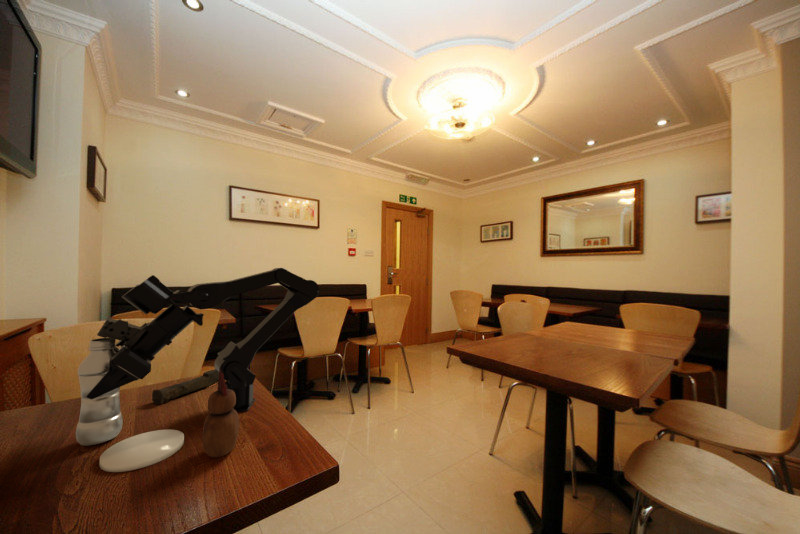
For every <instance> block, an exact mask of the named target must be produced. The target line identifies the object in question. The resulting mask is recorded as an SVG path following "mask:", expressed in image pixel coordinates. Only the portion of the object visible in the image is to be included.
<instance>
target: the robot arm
mask: <svg viewBox="0 0 800 534" xmlns="http://www.w3.org/2000/svg"><path fill="white" fill-rule="evenodd" d="M276 284H278V285H280V286H282V287H283V288H285V289H287V291H286V294H285V295H284V298H283V300H282V301H281V302H280V303H279V304H278V305H277V306H276V307H274V309H273V310H271V312H269V314H268V315H267V316H266V317H265V318H264V319H263V320H262V321H261V322H259V324H258V325H257V326H256V327H255V328H254V329H252V330H251V332H250V333H248V335H247V336H246V337H245V338H244V339H242V340H240V341H238V342H237V343H235V342H234V341H230V342H229V343H227V345H226V346H225V347H224V348H223V349H222V350H221V351H219V352H217V356H216V358H215V361H214V369H215V370H216V371H217V372H218V374H219V369H221V374H222V373H223V377H224V380H225V385H226V387H227V389H231V390H233V391H234V392H235V395H236V404H235V406H234V408H233V409H235V410H236V412H237V413H238V412H247V411H249V409H250V408H251V406H252V405H253V404H254V403H255V402H256V398H254V382H255V379H256V377H257V376H256V374H254V373H253V372H252V371H251V370H250V369H249V366H250V365H251V364H252V362H253V361H254V358H255V355H256V354H257V352H258V351H259V350H260V348H261V347H262V346H263V345H264V344H265V343H266V342H267V341H268V340H269V339H270V338H271V337H273V335H274V334H275V333H276V332H277V331H278V329H280V328H281V327H282V326H283V324H285V322H287V320H289V318H291V317H292V315H294V313H295V312H296V311H298V310H300V309H302V308H303V307H305V306H306V305H309V304H310V303H311V302H312V301H314V300H316V299H317V297H318V296H319V293H320V287H319V285H318V283H317V282H316V281H315V280H311V279H306V278H304V277H301V276H299V275H297V274H296V273H295V274H294V273H293V272H291V271H289V270H288V269H287V268H284V267H275V268H273V269H271V270H266V271H263V272H259V273H254V274H251V275H246V276H243V277H239V278H235V279H233V280H225V281H215V282H205V283H204V282H203V283H196V284H193V285H192V286H190V288H188V289H183V290H178V289H177V290H175V291H173V290H171V289H170V288H168V287H167V285H165V284H164V283H162V281H160V279H159V278H158V277H157V276H155V275H153V274H151V276H149V277H148V278H147V279H145V280H144V281H142V282H141V283H140V284H137V285H135V286H134V287H132V288H131V289H130V290H128V291H127V292H126V293H125V294H124V295H121V298H122V299H124V300H125V301H126V302H127V303H129V304H130V305H132V306H133V307H134V308H136V309H137V310H138V311H140V312H142V313H143V314H144V315H148V314H149V313H151V314H153V315H156V314H157V313H159V312H160V311H162V310H163V309H164V308H165V309H164V310H163V311H162V312H161V313H159V314H158V315H157V316H156V317H155V318H153V319H152V320H151V321H150V322H145V323H143V324H142V325H141V326H139V325H135V324H132V323H129V321H128V320H122V319H121V318H119V319H114V318H110V317H107V318H106V320H104V321H105V322H104V323H103V325H102V326H101V328H100V329H99V330H98V332H97V334H96V336H98V337H99V338H113V339H116V340H118V341H117V342H115V344H116V347H115V348H114V351H115V352H116V354H115V355H114V356H113V357H112V358H110V361H109V371H108V372H107V373H106V374H105V375H104V376H103V377H102V379H101V380H100V381H99V382H98V383H97V384H96V385H95V387H94V388H93V389H92V390H91V391H90V392H89V393H88V395H87V398H89V399H94V398H96V397H99V396H101V395H103V394H105V393H107V392H110V391H112V390H114V389H116V388H119V387H120V388H121V387H123V386H126V385H128V384H130V383H132V382H135V381H139V380H144V378H145V377H146V376H148V375H149V374H150V373H151V372H152V361H153V360H154V359H155V358H156V357H155V356H156V355H157V354H158V353H160V351H161V350H163V349H164V348H165V347H166V346H167V347H168V346H170V345H171V344H172V343H173V340H174V339H175V338H176V337H177V336H179V334H180V333H182V332H183V330H185V329H186V328H187V327H188V326H190V325H191V324H192V323H193V322H194V323H196V324H197V325H198V326H200V327H201V326H203V324H204V322H203V320H204V313H202V312H198V313H197V312H196V311H195V310H193V309H192V308H190V306H192V307H193V308H196V309H198V310H208V309H210V308H213V307H215V306H217V305H219V304H221V303H223V302H225V301H227V300H229V299H231V298H233V297H235V296H237V295H241V294H245V293H248V292H252V291H255V290H259V289H261V288H265V287H268V286H272V285H276ZM172 298H174V299H175V300H176V301H178V303H184V304H189V305H190V306H188V305H185V306H183V307H181V306H180V305H178V304H176V303H175V302H174V301H173V300H172ZM169 304H170V306H168V305H169ZM166 306H168V307H167V308H166ZM254 401H255V402H254ZM253 402H254V403H253Z"/></svg>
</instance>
